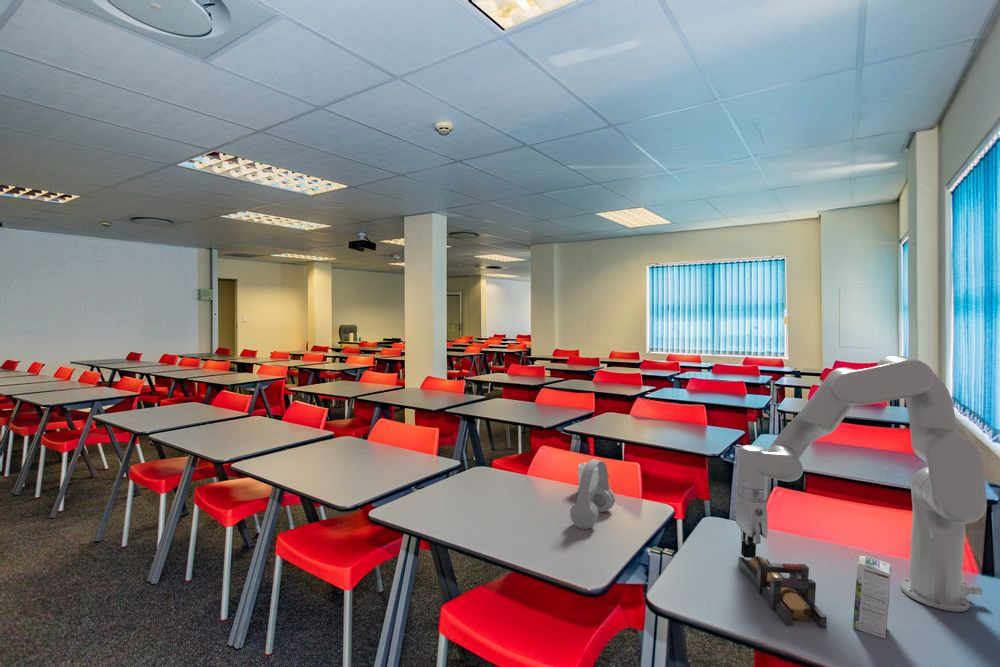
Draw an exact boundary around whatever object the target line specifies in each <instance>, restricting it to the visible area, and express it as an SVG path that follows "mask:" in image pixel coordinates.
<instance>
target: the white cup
mask: <svg viewBox="0 0 1000 667" xmlns="http://www.w3.org/2000/svg"><path fill="white" fill-rule="evenodd" d="M587 463H588V462H584V463H579V464H578V465H577V466H578V468H577V471H578V486H579V485H580V480H581V476H582V473H583V470H584V468H585V466H586V464H587ZM598 473H599V472H598V467H597V466H596V468H595V470H594V472H593V475H592V478H591V482H590V487H589V491H590V492H591V491H592V490H593V489H594V488H595V487H596V486H597V483H598V478H599V476H598ZM589 494H590V493H589Z"/></svg>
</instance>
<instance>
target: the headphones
mask: <svg viewBox="0 0 1000 667" xmlns="http://www.w3.org/2000/svg"><path fill="white" fill-rule="evenodd" d="M586 463H587V464H586V466H585V468H584V470H583V473H582V476H581V480H580V485H579V484H578V488H577V492H578V494H577V498H576V499H577V500H576V502H575V503H573V505H571V508H570V511H569V516H570V520H571V522H572V523H573V524H574V525H575V527H577V528H578V529H581V530H588V529H591V528H592V527H593V526H594V525H595V524H596V522H598V518H599V513H605V512H607V511H609V510H610V509H612V508H613V506H614V504H615V501H616V495H615V493H614V491H613V490H612V489H611V487H610V482H609V479H610V474H609V473H608V472H609V471H608V468H607V465H606V462H605V461H603V460H599V459H594V458H593V459H590V460H589V461H588V462H586ZM596 466H597V467H598V472H599V473H598V476H599V478H598V483H597V486H596V487H595V488H594V489H593V490H592V491H591V492H590V491H589V487H590V482H591V478H592V475H593V472H594V470H595V468H596ZM589 493H590V494H589Z"/></svg>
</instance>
